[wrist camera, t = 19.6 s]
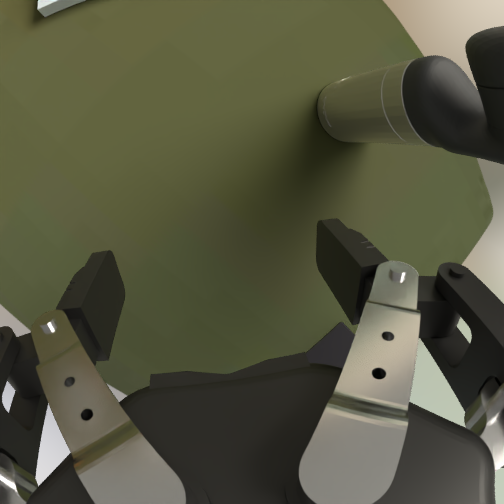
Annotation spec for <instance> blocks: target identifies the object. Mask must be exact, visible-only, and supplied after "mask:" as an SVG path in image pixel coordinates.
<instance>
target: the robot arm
mask: <svg viewBox="0 0 504 504" xmlns="http://www.w3.org/2000/svg"><path fill="white" fill-rule="evenodd" d="M466 54H467V58H468V62H469V65H470V68H471V71H472V74H473V77H474V80H475V82H476V86H477V89H478V90H477V89H476V88H475V86H474V85H473V83H472V82H471V80H470V79H469V78H468V76H467V75H466V74H465V72H464V71H463V70H462V69H461V68H460V67H459V66H458V65H457V64H456V63H454V62H453V61H451V60H450V59H448V58H446V57H443V56H436V55H435V56H427V57H422V58H418V59H413V60H409V61H405V62H401V63H397V64H393V65H389V66H386V67H382V68H378V69H375V70H371V71H368V72H365V73H361V74H358V75H355V76H351V77H348V78H345V79H342V80H339V81H336V82H333V83H331V84H329V85H327V86H326V87H325V88H324V89H323V90H322V92H321V93H320V96H319V99H318V104H317V111H318V116H319V120H320V122H321V124H322V126H323V128H324V129H325V130H326V132H327V133H328V134H329V135H331V136H332V137H333V138H335V139H337V140H339V141H342V142H362V143H389V144H407V145H423V146H434V147H442V148H444V149H445V150H447V151H449V152H452V153H456V154H461V155H467V156H472V157H476V158H481V159H485V160H489V161H493V162H497V163H500V164H504V26H501V27H494V28H490V29H486V30H483V31H481V32H478V33H476V34H474V35H473V36H471V37H470V39H469V40H468V41H467V43H466ZM316 262H317V266H318V270H319V272H320V273H321V275H322V277H323V278H324V280H325V281H326V283H327V284H328V286H329V288H330V289H331V291H332V292H333V294H334V296H335V297H336V299H337V301H338V302H339V304H340V305H341V307H342V309H343V310H344V312H345V314H346V315H347V317H348V319H349V320H350V322H351V324H352V325H355V324H359V325H358V328H357V331H356V334H355V337H354V340H353V343H352V346H351V349H350V351H349V354H348V357H347V360H346V362H345V365H344V368H343V369H342V368H340V367H336V366H332V365H327V364H319V363H309V362H308V359H307V356H306V354H305V352H304V353H299V354H294V355H289V356H284V357H279V358H274V359H268V360H265V361H263V362H260V363H258V364H255V365H252V366H250V367H247V368H244V369H242V370H239V371H236V372H234V373H230V374H215V373H202V372H191V371H184V372H174V373H162V374H151V376H150V386H148V387H145V388H143V389H140V390H138V391H136V392H134V393H132V394H130V395H129V396H127V397H125V398H124V399H123V400H122V401H120V402H118V400H117V399H116V397H115V396H114V395H113V393H112V392H111V390H110V389H109V387H108V386H107V384H106V383H105V381H104V380H103V378H102V377H101V375H100V373H99V372H98V370H97V369H96V367H95V364H96V361H106V360H109V356H110V352H111V348H112V344H113V340H114V336H115V332H116V328H117V325H118V321H119V317H120V314H121V310H122V307H123V303H124V300H125V289H124V284H123V281H122V278H121V276H120V273H119V270H118V267H117V264H116V261H115V257H114V255H113V253H112V251H110V250H108V251H102V252H96V253H92V255H91V256H90V258H89V260H88V261H87V263H86V265H85V267H82V268H81V269H80V270H79V271H78V272H77V273H76V274H75V275H74V276H73V278H72V280H71V282H70V284H69V285H68V287H67V289H66V291H65V292H64V294H63V296H62V298H61V300H60V302H59V304H58V306H57V307H56V309H55V310H51V311H48V312H46V313H44V314H42V315H41V316H39V317H38V318H37V319H36V320H35V321H34V323H33V325H32V327H31V333H28V334H25V335H22V336H19V337H16V335H15V334H14V332H13V330H12V329H11V328H10V327H8V326H4V327H0V504H495V487H494V483H495V471H496V470H498V469H499V468H504V304H503V303H502V302H501V301H500V300H499V299H498V298H497V297H496V296H495V294H494V293H493V292H491V291H490V290H489V288H488V287H487V286H486V285H485V284H483V282H482V281H481V280H479V279H478V278H477V277H476V276H475V275H474V274H473V273H472V272H471V271H470V270H469V269H468V268H466V267H464V266H462V265H460V264H457V263H451V262H448V263H443V264H441V265H440V266H439V268H438V272H437V276H418V273H417V271H416V270H415V269H414V268H413V267H412V266H410V265H408V264H406V263H403V262H398V261H389V260H388V259H387V258H386V257H385V256H384V255H383V254H382V253H381V252H380V251H379V250H378V249H377V248H376V247H374V245H373V244H372V243H371V242H368V239H367V238H365V237H364V236H363V235H362V234H361V233H359V232H357V231H355V230H353V229H348V228H347V227H346V226H345V225H344V224H343V223H342V222H341V221H340V220H339V219H337V218H336V219H328V220H320V221H318V223H317V244H316ZM460 317H461V318H462V319H463V320H464V321H465V322H466V323H467V325H468V326H469V328H470V330H471V334H472V339H471V343H469V342H468V341H467V339H466V338H465V337H464V335H463V334H462V333H461V332H460V330H459V329H458V328H457V324H458V321H459V319H460ZM418 338H421V340H422V342H423V343H424V345H425V346H426V348H427V349H428V351H429V352H430V354H431V356H432V357H433V359H434V360H435V362H436V363H437V365H438V367H439V368H440V370H441V371H442V373H443V375H444V376H445V378H446V379H447V381H448V383H449V385H450V386H451V388H452V390H453V391H454V393H455V395H456V397H457V398H458V400H459V402H460V404H461V405H462V407H463V409H464V411H465V417H464V422H465V426H466V428H465V427H463V426H460V425H458V424H456V423H454V422H451V421H449V420H447V419H445V418H443V417H440V416H438V415H436V414H434V413H432V412H430V411H428V410H425V409H423V408H421V407H419V406H417V405H415V404H413V403H411V402H409V400H410V394H411V389H412V383H413V376H414V370H415V363H416V356H417V347H418ZM7 381H8V382H9V383H10V384H11V386H12V387H13V388H14V389H15V390H16V391H15V395H14V397H13V401H12V404H11V407H10V411H9V413H8V412H7V411H6V410H5V408H4V406H3V403H2V393H3V391H4V388H5V385H6V382H7ZM48 403H49V406H50V408H51V411H52V413H53V415H54V418H55V420H56V422H57V425H58V427H59V429H60V431H61V433H62V436H63V438H64V440H65V442H66V444H67V446H68V448H69V450H70V452H71V453H70V454H69V455H68V456H67V457H66V458H65V459H64V461H62V463H61V464H60V465H59V466H58V467H57V468H56V469H55V470H54V471H53V472H52V473H51V474H50V475H49V476H48V477H47V478H46V479H45V480H44V481H43V482H42V484H40V485H39V486H38V484H37V481H36V479H35V476H36V468H37V460H38V453H39V447H40V441H41V435H42V430H43V425H44V420H45V415H46V410H47V406H48Z"/></svg>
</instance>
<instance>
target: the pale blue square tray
mask: <svg viewBox="0 0 504 504" xmlns="http://www.w3.org/2000/svg"><path fill="white" fill-rule="evenodd" d="M83 1H86V0H38V11H39V12H40V13H41V14H42V15H43V16H44V17H46V16H49V15H51V14H53V13H55V12H58V11H60V10H62V9H65V8H67V7H70V6H72V5H75V4H77V3H80V2H83Z"/></svg>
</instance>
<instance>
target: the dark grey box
mask: <svg viewBox="0 0 504 504" xmlns="http://www.w3.org/2000/svg"><path fill="white" fill-rule="evenodd" d="M354 337H355V335H354V334H353V333H352V332H351V331H350V329H349V328H348V327H347V326H346V325H345V324H344V323H343V322H340V323H339V324H338V325H337V326H336V327H335V328H333V329H332V330H331V331H330V332H329V333H328V334H327V335H326V336H325V337H324V338H322V339H321V340H320V341H319V342H318V343H317V344H316V345H315V346H313V347H312V348H311V349H310V350H309V351H308V352H307V353H305V354H306V356H307V359H308V362H309V363H319V364H327V365H332V366H336V367H340V368H342V369H343V368H344V365H345V362H346V360H347V357H348V354H349V351H350V349H351V346H352V343H353V340H354Z"/></svg>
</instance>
